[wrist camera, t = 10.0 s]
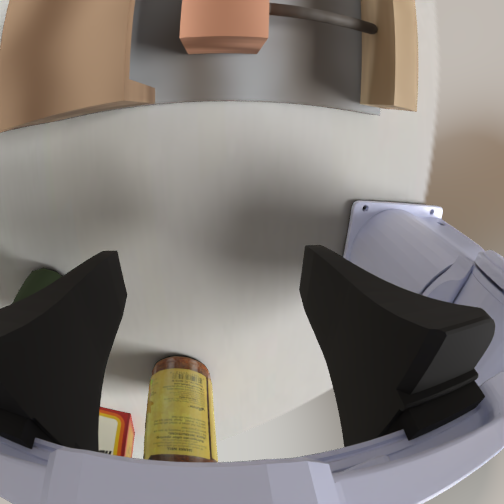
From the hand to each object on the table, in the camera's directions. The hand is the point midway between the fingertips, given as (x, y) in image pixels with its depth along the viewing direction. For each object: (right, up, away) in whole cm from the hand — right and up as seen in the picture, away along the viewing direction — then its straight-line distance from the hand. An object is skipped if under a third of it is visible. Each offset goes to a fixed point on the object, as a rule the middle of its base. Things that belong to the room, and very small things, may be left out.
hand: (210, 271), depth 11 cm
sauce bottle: (-6, -12, +16) cm, 21 cm away
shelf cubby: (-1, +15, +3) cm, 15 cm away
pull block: (+4, +15, +2) cm, 15 cm away
